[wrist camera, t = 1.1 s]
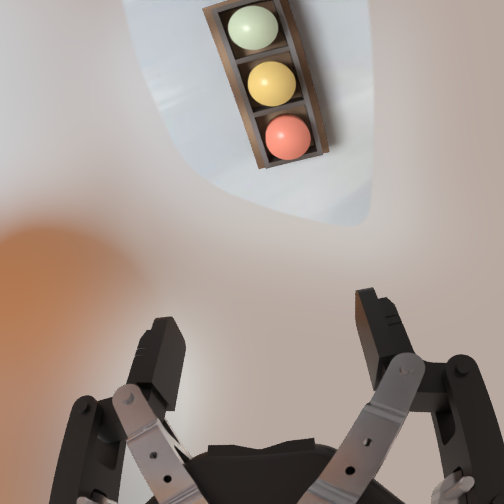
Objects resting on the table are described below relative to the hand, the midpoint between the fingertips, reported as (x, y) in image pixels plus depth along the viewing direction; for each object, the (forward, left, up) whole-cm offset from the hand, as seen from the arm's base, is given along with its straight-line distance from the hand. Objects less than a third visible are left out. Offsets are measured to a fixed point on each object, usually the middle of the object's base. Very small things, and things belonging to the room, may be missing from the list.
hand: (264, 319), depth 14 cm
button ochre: (-6, +5, -16) cm, 18 cm away
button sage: (-10, +6, -16) cm, 20 cm away
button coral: (-1, +3, -16) cm, 17 cm away
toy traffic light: (-6, +5, -20) cm, 21 cm away
